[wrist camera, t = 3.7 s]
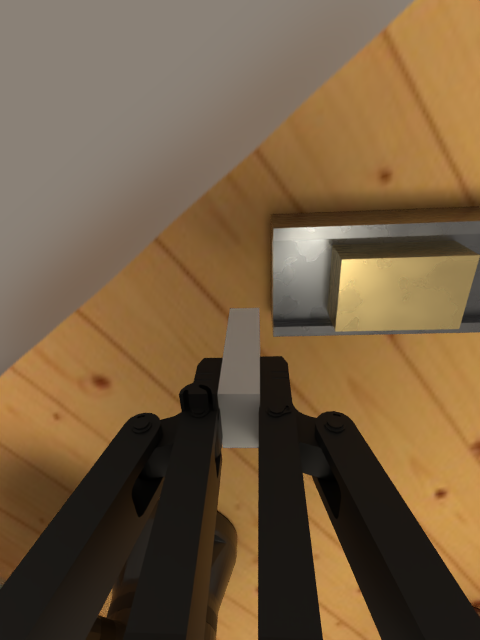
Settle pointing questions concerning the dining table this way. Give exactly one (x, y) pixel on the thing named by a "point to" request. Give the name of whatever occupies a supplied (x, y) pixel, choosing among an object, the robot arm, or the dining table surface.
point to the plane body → (354, 228)
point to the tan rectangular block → (400, 285)
